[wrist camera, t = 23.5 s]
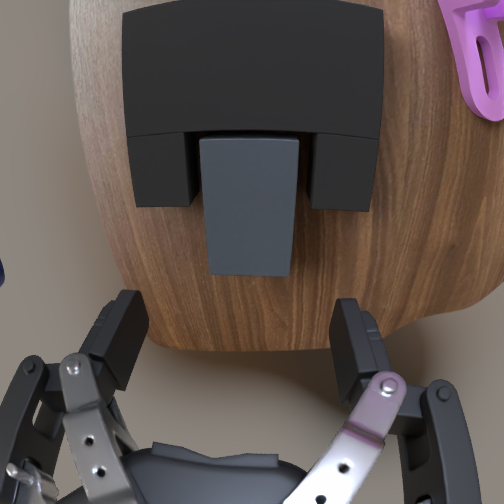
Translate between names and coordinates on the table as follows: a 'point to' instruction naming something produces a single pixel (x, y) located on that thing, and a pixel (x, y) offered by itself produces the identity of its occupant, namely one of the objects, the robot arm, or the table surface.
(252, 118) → the base pad
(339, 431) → the robot arm
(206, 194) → the pad
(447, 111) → the table surface
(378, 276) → the table surface
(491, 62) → the bracket
